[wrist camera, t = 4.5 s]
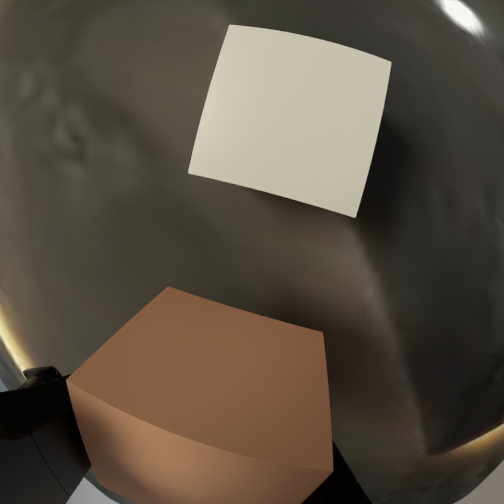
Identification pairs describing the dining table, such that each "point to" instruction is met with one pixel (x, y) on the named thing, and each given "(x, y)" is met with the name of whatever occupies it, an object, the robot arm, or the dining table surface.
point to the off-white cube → (292, 117)
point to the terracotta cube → (206, 406)
